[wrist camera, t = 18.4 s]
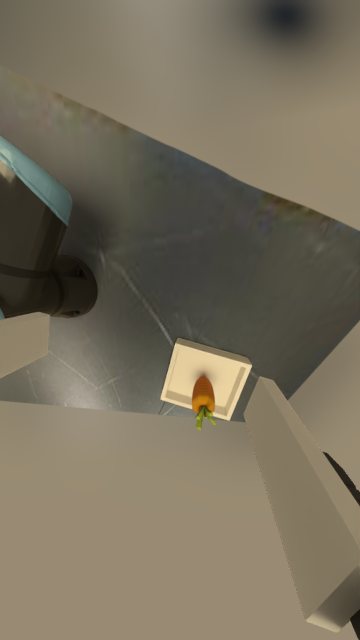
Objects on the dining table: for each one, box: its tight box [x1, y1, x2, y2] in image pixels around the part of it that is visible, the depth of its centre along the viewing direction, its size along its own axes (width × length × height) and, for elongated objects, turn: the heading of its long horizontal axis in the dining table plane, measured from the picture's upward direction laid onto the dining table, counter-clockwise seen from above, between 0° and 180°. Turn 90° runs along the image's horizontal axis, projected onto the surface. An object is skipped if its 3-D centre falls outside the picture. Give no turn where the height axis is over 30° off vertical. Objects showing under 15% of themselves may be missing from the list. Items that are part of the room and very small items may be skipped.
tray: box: [161, 338, 252, 420], centre depth 43 cm, size 18×16×4 cm
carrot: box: [192, 375, 216, 430], centre depth 37 cm, size 5×5×15 cm
